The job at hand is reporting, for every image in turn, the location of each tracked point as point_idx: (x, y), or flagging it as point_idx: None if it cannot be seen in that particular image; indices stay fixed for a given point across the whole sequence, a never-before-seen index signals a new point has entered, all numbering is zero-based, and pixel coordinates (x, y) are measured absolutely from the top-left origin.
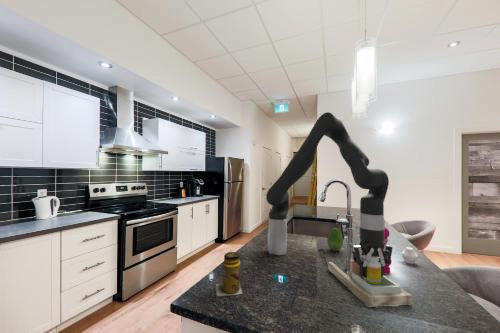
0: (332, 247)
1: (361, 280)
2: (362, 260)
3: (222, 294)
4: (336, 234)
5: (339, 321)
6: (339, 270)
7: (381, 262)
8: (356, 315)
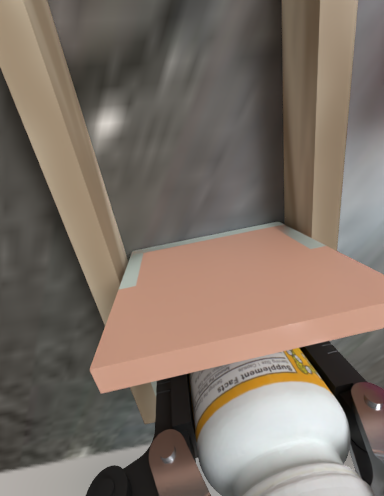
0: None
1: (151, 382)
2: (190, 482)
3: None
4: None
5: (33, 449)
6: (63, 181)
7: (358, 471)
8: (93, 421)
